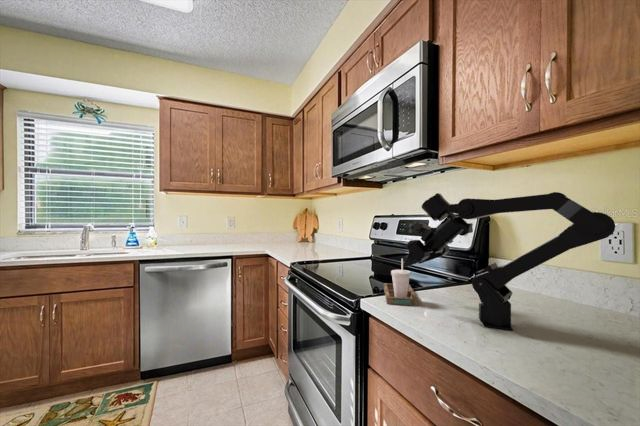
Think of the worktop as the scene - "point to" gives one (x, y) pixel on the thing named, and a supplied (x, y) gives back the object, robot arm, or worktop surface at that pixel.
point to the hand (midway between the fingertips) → (411, 264)
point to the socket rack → (399, 300)
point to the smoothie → (400, 281)
